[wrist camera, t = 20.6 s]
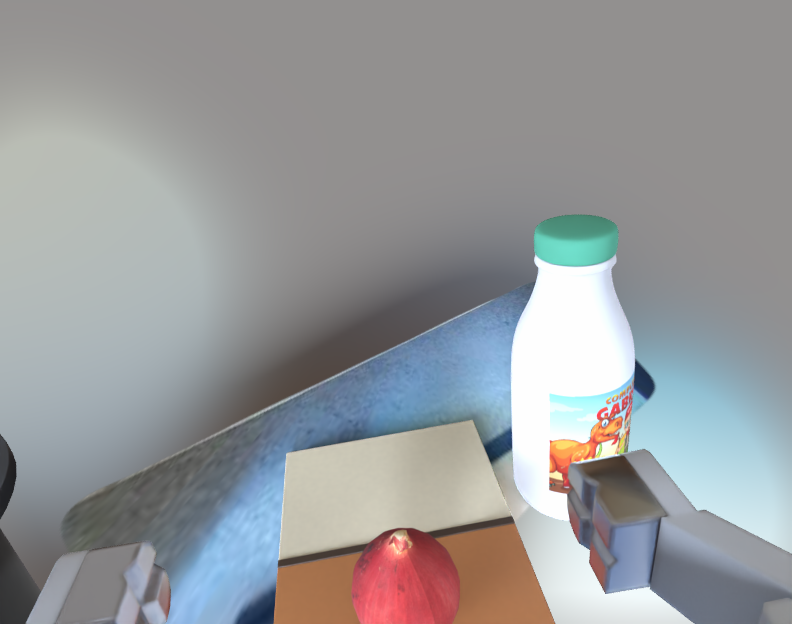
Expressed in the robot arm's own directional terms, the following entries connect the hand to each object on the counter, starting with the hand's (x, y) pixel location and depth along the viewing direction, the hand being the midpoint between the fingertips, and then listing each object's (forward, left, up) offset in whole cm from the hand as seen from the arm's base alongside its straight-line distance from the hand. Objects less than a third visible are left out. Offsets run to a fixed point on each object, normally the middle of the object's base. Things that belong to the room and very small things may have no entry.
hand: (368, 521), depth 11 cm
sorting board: (0, +18, -23) cm, 29 cm away
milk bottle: (+13, +21, -23) cm, 34 cm away
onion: (0, +12, -22) cm, 25 cm away
